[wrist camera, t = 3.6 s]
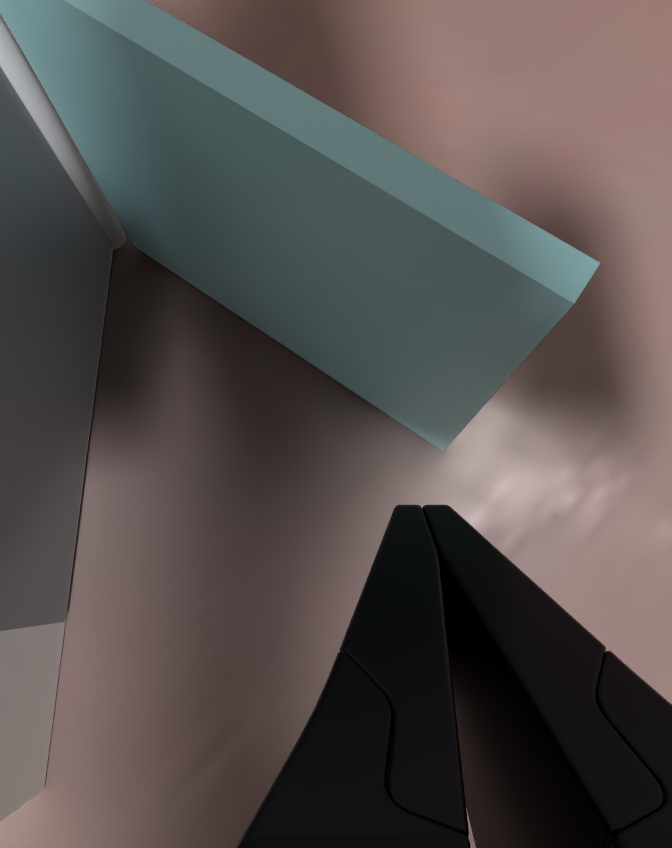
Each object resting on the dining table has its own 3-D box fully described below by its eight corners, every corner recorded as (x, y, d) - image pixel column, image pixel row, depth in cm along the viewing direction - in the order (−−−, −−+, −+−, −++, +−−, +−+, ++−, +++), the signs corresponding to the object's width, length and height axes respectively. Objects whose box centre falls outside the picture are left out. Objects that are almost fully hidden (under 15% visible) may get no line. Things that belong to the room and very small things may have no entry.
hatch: (132, 245, 18) (-43, -64, 10) (168, 207, 19) (32, -121, 10) (443, 451, 16) (573, 304, 8) (474, 404, 17) (631, 214, 8)
